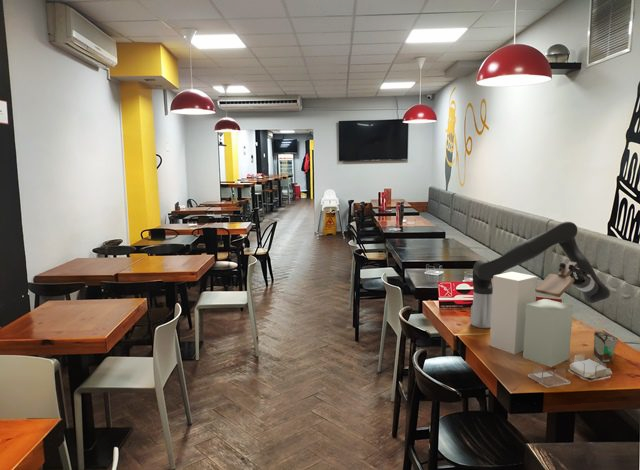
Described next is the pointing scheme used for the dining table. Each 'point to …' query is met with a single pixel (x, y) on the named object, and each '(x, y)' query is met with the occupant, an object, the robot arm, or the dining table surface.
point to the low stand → (547, 332)
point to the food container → (604, 346)
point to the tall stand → (510, 309)
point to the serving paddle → (556, 282)
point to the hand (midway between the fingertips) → (565, 265)
